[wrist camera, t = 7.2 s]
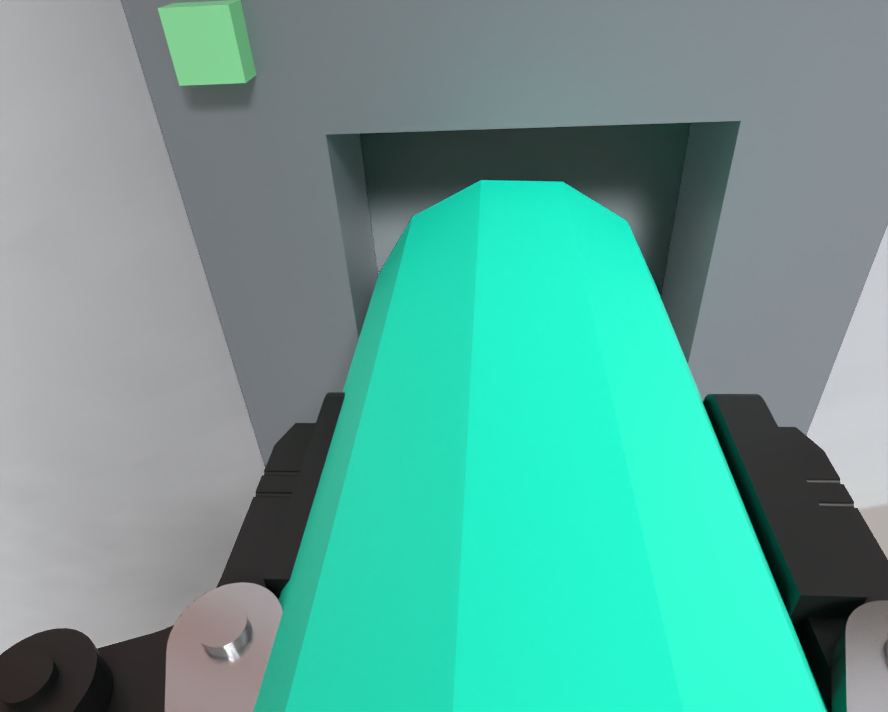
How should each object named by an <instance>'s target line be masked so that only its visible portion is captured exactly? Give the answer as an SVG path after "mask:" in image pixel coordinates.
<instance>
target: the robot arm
mask: <svg viewBox="0 0 888 712" xmlns="http://www.w3.org/2000/svg"><path fill="white" fill-rule="evenodd" d="M344 397H345V392H329V393H327V394H326V396H325V398H324V400H323V403H322V406H321V409H320V412H319V415H318V418H317V421H316V423H295V424H294V425H293V426H292V427H291V428H290V429H289V430H288V431H287V432H286V433H285V434H284V436H283V437H282V438H281V439H280V440H279V441H278V442H277V443H276V444H275V445H274V447H273V450H272V452H271V455H270V457H269V460H268V462H267V465H266V467H265V470H264V472H265V473H264V476H262V477H261V480H260V482H259V485H258V487H257V490H256V497H253V500H252V502H251V505H250V507H249V510H248V512H247V515H246V517H245V520H244V522H243V525H242V527H241V530H240V532H239V535H238V537H237V540H236V542H235V545H234V547H233V550H232V552H231V555H230V557H229V560H228V562H227V565H226V567H225V570H224V572H223V575H222V577H221V579H220V581H219V583H218V585H217V587H216V588H215V589H213V590H211V591H209V592H207V593H205V594H204V595H202V596H201V597H199V598H198V599H196V600H195V601H194V602H193V603H192V604H191V605H189V606H188V607H187V608H186V610H185V611H184V612H183V613H182V614H181V615H180V617H179V618H178V620H177V621H176V623H175V624H174V625H173V626H171V627H169V628H167V629H164V630H161V631H158V632H155V633H152V634H148V635H145V636H141V637H137V638H134V639H130V640H127V641H123V642H119V643H116V644H112V645H109V646H105V647H101V648H98V649H97V648H96V647H95V645H94V644H93V643H92V641H91V640H90V639H89V637H87V636H86V635H85V634H83V633H82V632H79V631H77V630H73V629H67V628H64V629H52V630H47V631H43V632H40V633H37V634H34V635H32V636H30V637H28V638H25V639H23V640H22V641H20V642H18V643H16V644H15V645H13V646H12V647H10V648H9V649H8V650H6V651H5V652H3V653H2V654H1V655H0V712H253V711H254V707H255V704H256V701H257V697H258V694H259V690H260V687H261V684H262V680H263V677H264V673H265V670H266V667H267V663H268V660H269V657H270V653H271V650H272V646H273V643H274V640H275V636H276V633H277V630H278V626H279V623H280V619H281V616H282V613H283V609H282V606H281V604H280V602H279V597H280V594H281V591H282V590H283V588H284V587H285V586H286V584H287V583H288V582H289V580H290V578H291V575H292V571H293V568H294V565H295V561H296V558H297V555H298V551H299V548H300V544H301V541H302V538H303V534H304V531H305V528H306V524H307V521H308V518H309V514H310V511H311V508H312V504H313V501H314V498H315V494H316V491H317V488H318V484H319V481H320V478H321V474H322V471H323V468H324V464H325V461H326V458H327V454H328V451H329V448H330V444H331V441H332V438H333V434H334V431H335V428H336V424H337V421H338V417H339V414H340V411H341V407H342V404H343V401H344ZM703 404H704V406H705V409H706V411H707V414H708V416H709V419H710V421H711V423H712V426H713V428H714V431H715V433H716V436H717V438H718V441H719V443H720V446H721V448H722V451H723V453H724V456H725V458H726V461H727V463H728V466H729V468H730V471H731V473H732V476H733V478H734V480H735V483H736V485H737V488H738V490H739V493H740V495H741V498H742V500H743V503H744V505H745V508H746V510H747V513H748V515H749V518H750V520H751V523H752V525H753V528H754V530H755V532H756V535H757V537H758V540H759V542H760V545H761V547H762V550H763V552H764V555H765V557H766V560H767V562H768V565H769V567H770V570H771V572H772V575H773V577H774V580H775V582H776V585H777V587H778V589H779V592H780V594H781V597H782V599H783V602H784V604H785V607H786V609H787V612H788V614H789V617H790V619H791V621H792V624H793V626H794V628H795V631H796V633H797V636H798V638H799V641H800V643H801V646H802V648H803V651H804V653H805V656H806V658H807V661H808V663H809V666H810V668H811V671H812V673H813V676H814V678H815V680H816V683H817V685H818V688H819V690H820V693H821V695H822V698H823V700H824V703H825V705H826V708H827V710H828V712H888V560H887V558H886V556H885V554H884V553H883V551H882V550H881V548H880V546H879V544H878V543H877V541H876V539H875V538H874V536H873V534H872V532H871V531H870V529H869V527H868V525H867V524H866V522H865V520H864V519H863V517H862V515H861V513H860V512H859V510H858V508H854V502H853V500H852V498H851V496H850V495H849V493H848V491H847V490H846V488H845V486H844V484H840V478H839V476H838V474H837V472H836V471H835V469H834V467H833V466H832V464H831V462H830V461H829V459H828V457H827V455H826V454H825V452H824V451H823V450H822V449H821V448H820V447H819V446H818V445H816V444H815V443H814V442H813V441H812V440H811V439H809V438H808V437H807V436H806V435H805V434H804V433H802V432H801V431H800V430H799V429H798V428H796V427H778V425H777V424H776V422H775V420H774V418H773V416H772V414H771V412H770V410H769V408H768V406H767V405H766V403H765V401H764V399H763V398H762V397H761V396H760V395H758V394H708V395H707V396H706V397H705V398H704V401H703Z"/></svg>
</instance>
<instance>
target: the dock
mask: <svg viewBox="0 0 888 712" xmlns="http://www.w3.org/2000/svg"><path fill="white" fill-rule="evenodd" d="M121 2H122V5H123V9H124V12H125V15H126V18H127V22H128V25H129V28H130V31H131V35H132V38H133V41H134V44H135V48H136V51H137V54H138V57H139V60H140V64H141V67H142V70H143V73H144V77H145V80H146V83H147V86H148V90H149V93H150V96H151V99H152V103H153V106H154V109H155V112H156V115H157V119H158V122H159V125H160V128H161V132H162V135H163V138H164V141H165V145H166V148H167V151H168V154H169V158H170V161H171V164H172V167H173V170H174V174H175V177H176V180H177V183H178V187H179V190H180V193H181V196H182V200H183V203H184V206H185V209H186V213H187V216H188V219H189V222H190V225H191V229H192V232H193V235H194V238H195V242H196V245H197V248H198V251H199V255H200V258H201V261H202V264H203V268H204V271H205V274H206V277H207V280H208V284H209V287H210V290H211V293H212V297H213V300H214V303H215V306H216V310H217V313H218V316H219V319H220V323H221V326H222V329H223V332H224V335H225V339H226V342H227V345H228V348H229V352H230V355H231V358H232V361H233V365H234V368H235V371H236V374H237V378H238V381H239V384H240V387H241V390H242V394H243V397H244V400H245V403H246V407H247V410H248V413H249V416H250V420H251V423H252V426H253V429H254V433H255V436H256V439H257V442H258V445H259V449H260V452H261V455H262V458H263V462H264V465H265V467H266V465H267V462H268V460H269V457H270V455H271V452H272V450H273V447H274V445H275V444H276V443H277V442H278V441H279V440H280V439H281V438H282V437H283V436H284V434H285V433H286V432H287V431H288V430H289V429H290V428H291V427H292V426H293V425H294V424H295V423H316V421H317V418H318V415H319V412H320V409H321V406H322V403H323V400H324V398H325V396H326V394H327V393H329V392H343V389H344V386H345V382H346V379H347V376H348V373H349V369H350V366H351V363H352V360H353V356H354V353H355V350H356V346H357V343H358V340H359V337H360V333H361V330H362V327H363V324H364V320H365V317H366V314H367V311H368V307H369V304H370V301H371V298H372V294H373V291H374V288H375V285H376V281H377V278H378V274H377V266H376V258H375V250H374V242H373V235H372V227H371V219H370V211H369V204H368V196H367V188H366V180H365V173H364V165H363V157H362V149H361V142H360V134H359V133H389V132H419V131H450V130H480V129H510V128H541V127H571V126H601V125H632V124H662V123H691V125H690V131H689V137H688V143H687V149H686V154H685V160H684V166H683V172H682V178H681V183H680V189H679V195H678V201H677V207H676V212H675V218H674V224H673V230H672V236H671V241H670V247H669V253H668V259H667V265H666V270H665V276H664V282H663V288H662V294H661V299H662V302H663V304H664V307H665V309H666V312H667V314H668V317H669V319H670V322H671V324H672V327H673V329H674V331H675V334H676V336H677V339H678V341H679V344H680V346H681V349H682V351H683V354H684V356H685V359H686V361H687V364H688V366H689V369H690V371H691V374H692V376H693V379H694V381H695V383H696V386H697V388H698V391H699V393H700V396H701V398H702V401H704V398H705V397H706V396H707V395H708V394H758V395H760V396H761V397H762V398H763V399H764V401H765V403H766V405H767V406H768V408H769V410H770V412H771V414H772V416H773V418H774V420H775V422H776V424H777V425H778V427H796V428H798V429H799V430H800V431H801V432H802V433H804V434H805V435H807V432H808V430H809V427H810V424H811V422H812V419H813V417H814V414H815V411H816V409H817V406H818V404H819V401H820V398H821V396H822V393H823V391H824V388H825V386H826V383H827V380H828V378H829V375H830V373H831V370H832V367H833V365H834V362H835V360H836V357H837V354H838V352H839V349H840V347H841V344H842V341H843V339H844V336H845V334H846V331H847V328H848V326H849V323H850V321H851V318H852V316H853V313H854V310H855V308H856V305H857V303H858V300H859V297H860V295H861V292H862V290H863V287H864V284H865V282H866V279H867V277H868V274H869V271H870V269H871V266H872V264H873V261H874V259H875V256H876V253H877V251H878V248H879V246H880V243H881V240H882V238H883V235H884V233H885V230H886V227H887V225H888V0H121Z"/></svg>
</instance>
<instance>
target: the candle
mask: <svg viewBox="0 0 888 712" xmlns="http://www.w3.org/2000/svg"><path fill="white" fill-rule="evenodd" d="M343 392H345V397H344V401H343V404H342V407H341V411H340V414H339V417H338V421H337V424H336V428H335V431H334V434H333V438H332V441H331V444H330V448H329V451H328V454H327V458H326V461H325V464H324V468H323V471H322V474H321V478H320V481H319V484H318V488H317V491H316V494H315V498H314V501H313V504H312V508H311V511H310V514H309V518H308V521H307V524H306V528H305V531H304V534H303V538H302V541H301V544H300V548H299V551H298V555H297V558H296V561H295V565H294V568H293V571H292V575H291V578H290V580H289V582H288V583H287V584H286V586H285V587H284V588H283V590H282V591H281V594H280V597H279V602H280V604H281V606H282V609H283V613H282V616H281V619H280V623H279V626H278V630H277V633H276V636H275V640H274V643H273V646H272V650H271V653H270V657H269V660H268V663H267V667H266V670H265V673H264V677H263V680H262V684H261V687H260V690H259V694H258V697H257V701H256V704H255V707H254V711H253V712H828V710H827V708H826V705H825V703H824V700H823V698H822V695H821V693H820V690H819V688H818V685H817V683H816V680H815V678H814V676H813V673H812V671H811V668H810V666H809V663H808V661H807V658H806V656H805V653H804V651H803V648H802V646H801V643H800V641H799V638H798V636H797V633H796V631H795V628H794V626H793V624H792V621H791V619H790V617H789V614H788V612H787V609H786V607H785V604H784V602H783V599H782V597H781V594H780V592H779V589H778V587H777V585H776V582H775V580H774V577H773V575H772V572H771V570H770V567H769V565H768V562H767V560H766V557H765V555H764V552H763V550H762V547H761V545H760V542H759V540H758V537H757V535H756V532H755V530H754V528H753V525H752V523H751V520H750V518H749V515H748V513H747V510H746V508H745V505H744V503H743V500H742V498H741V495H740V493H739V490H738V488H737V485H736V483H735V480H734V478H733V476H732V473H731V471H730V468H729V466H728V463H727V461H726V458H725V456H724V453H723V451H722V448H721V446H720V443H719V441H718V438H717V436H716V433H715V431H714V428H713V426H712V423H711V421H710V419H709V416H708V414H707V411H706V409H705V406H704V404H703V401H702V398H701V396H700V393H699V391H698V388H697V386H696V383H695V381H694V379H693V376H692V374H691V371H690V369H689V366H688V364H687V361H686V359H685V356H684V354H683V351H682V349H681V346H680V344H679V341H678V339H677V336H676V334H675V331H674V329H673V327H672V324H671V322H670V319H669V317H668V314H667V312H666V309H665V307H664V304H663V302H662V299H661V297H660V294H659V292H658V289H657V287H656V284H655V282H654V280H653V278H652V275H651V273H650V271H649V268H648V266H647V264H646V262H645V259H644V257H643V255H642V253H641V250H640V248H639V246H638V244H637V241H636V239H635V237H634V235H633V232H632V230H631V228H630V226H629V223H628V221H626V220H625V219H623V218H621V217H620V216H618V215H616V214H615V213H613V212H612V211H610V210H608V209H607V208H605V207H603V206H602V205H600V204H598V203H597V202H595V201H594V200H592V199H590V198H589V197H587V196H585V195H584V194H582V193H581V192H579V191H577V190H576V189H574V188H572V187H571V186H569V185H567V184H566V183H564V182H557V181H506V180H480V181H478V182H476V183H474V184H473V185H471V186H469V187H467V188H465V189H463V190H461V191H459V192H458V193H456V194H454V195H452V196H450V197H448V198H446V199H444V200H442V201H441V202H439V203H437V204H435V205H433V206H431V207H429V208H427V209H426V210H424V211H422V212H420V213H418V214H416V215H414V216H413V217H412V218H411V220H410V222H409V223H408V225H407V227H406V229H405V230H404V232H403V234H402V235H401V237H400V239H399V241H398V242H397V244H396V246H395V247H394V249H393V251H392V252H391V254H390V256H389V258H388V259H387V261H386V263H385V264H384V266H383V268H382V270H381V271H380V273H379V275H378V278H377V281H376V285H375V288H374V291H373V294H372V298H371V301H370V304H369V307H368V311H367V314H366V317H365V320H364V324H363V327H362V330H361V333H360V337H359V340H358V343H357V346H356V350H355V353H354V356H353V360H352V363H351V366H350V369H349V373H348V376H347V379H346V382H345V386H344V389H343Z"/></svg>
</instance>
